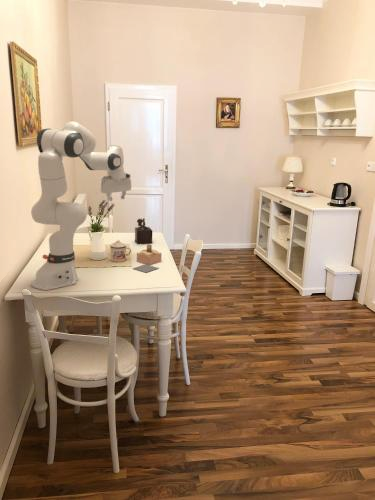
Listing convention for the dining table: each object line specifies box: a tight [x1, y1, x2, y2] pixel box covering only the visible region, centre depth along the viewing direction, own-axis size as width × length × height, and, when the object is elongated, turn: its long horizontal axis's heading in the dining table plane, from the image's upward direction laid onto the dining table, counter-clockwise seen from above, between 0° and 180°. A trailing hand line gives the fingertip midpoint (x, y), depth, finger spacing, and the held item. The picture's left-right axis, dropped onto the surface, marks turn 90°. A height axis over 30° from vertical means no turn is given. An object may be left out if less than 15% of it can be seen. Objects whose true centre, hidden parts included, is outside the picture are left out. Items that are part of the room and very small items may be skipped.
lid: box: [139, 244, 159, 256], centre depth 232 cm, size 10×10×5 cm
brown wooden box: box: [134, 217, 153, 245], centre depth 270 cm, size 16×11×18 cm
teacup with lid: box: [110, 239, 132, 263], centre depth 234 cm, size 12×9×12 cm
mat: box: [132, 264, 160, 274], centre depth 221 cm, size 10×10×1 cm
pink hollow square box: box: [136, 251, 162, 266], centre depth 233 cm, size 10×10×5 cm
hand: (116, 199), depth 232 cm, fingers open, 8 cm apart
